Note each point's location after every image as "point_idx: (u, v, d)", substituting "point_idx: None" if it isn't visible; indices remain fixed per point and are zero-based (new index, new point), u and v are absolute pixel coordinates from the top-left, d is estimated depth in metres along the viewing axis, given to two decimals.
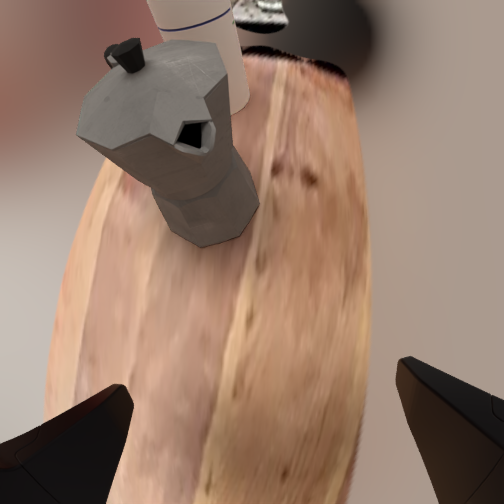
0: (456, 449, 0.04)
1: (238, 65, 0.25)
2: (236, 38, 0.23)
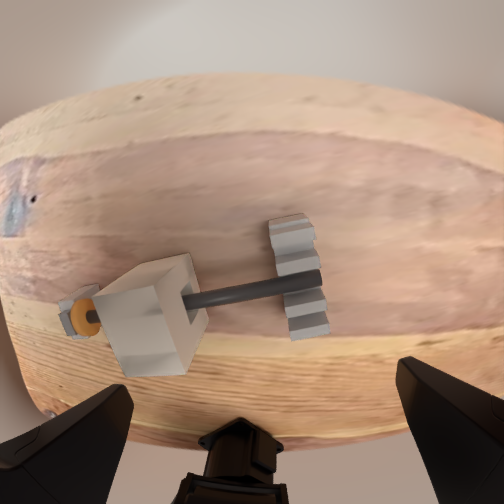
0: (456, 449, 0.04)
1: None
2: None
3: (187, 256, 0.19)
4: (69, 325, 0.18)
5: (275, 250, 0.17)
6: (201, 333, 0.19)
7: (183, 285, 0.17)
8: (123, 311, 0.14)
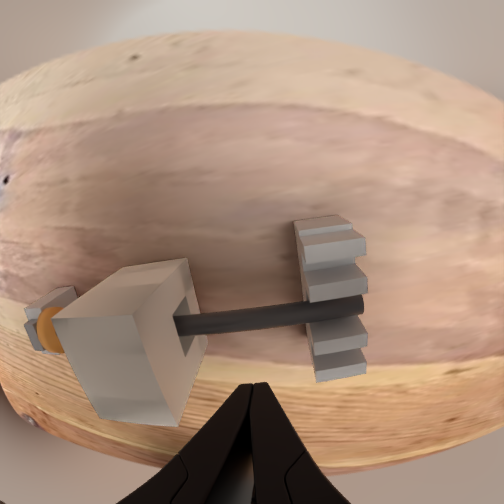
0: None
1: None
2: None
3: (184, 262, 0.14)
4: (36, 339, 0.13)
5: (304, 264, 0.13)
6: (199, 362, 0.14)
7: (177, 304, 0.13)
8: (91, 343, 0.09)
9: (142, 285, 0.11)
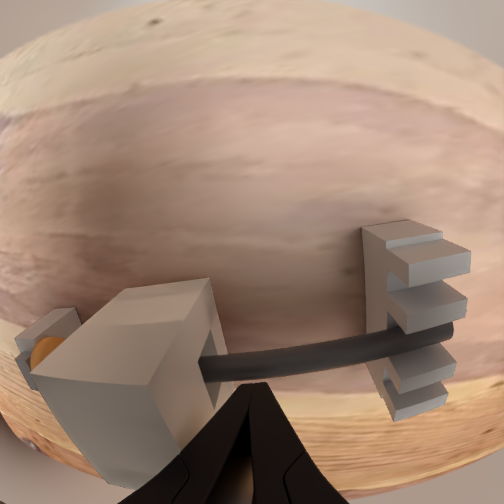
0: None
1: None
2: None
3: (206, 285, 0.11)
4: None
5: (389, 283, 0.09)
6: None
7: (202, 344, 0.09)
8: (89, 411, 0.06)
9: (154, 324, 0.08)
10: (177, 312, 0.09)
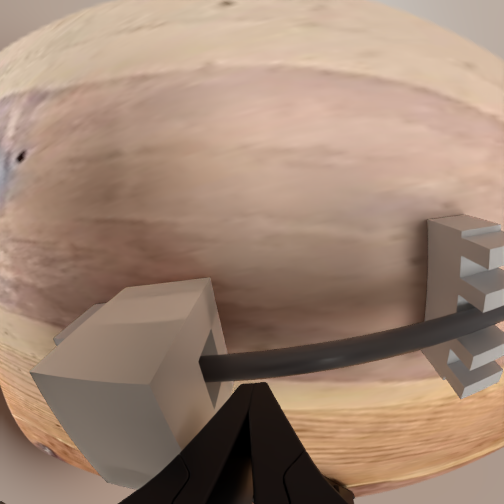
0: None
1: None
2: None
3: (207, 285, 0.11)
4: None
5: (461, 269, 0.09)
6: None
7: (202, 344, 0.09)
8: (89, 411, 0.06)
9: (156, 323, 0.08)
10: (178, 311, 0.09)
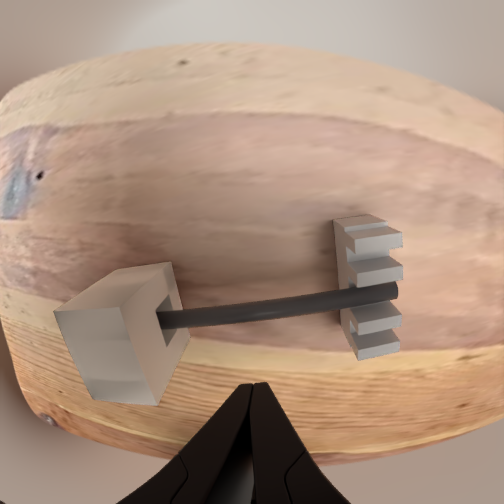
0: None
1: None
2: None
3: (167, 266, 0.16)
4: None
5: (348, 256, 0.14)
6: (180, 353, 0.16)
7: (160, 301, 0.15)
8: (87, 331, 0.11)
9: (130, 284, 0.13)
10: (144, 279, 0.14)
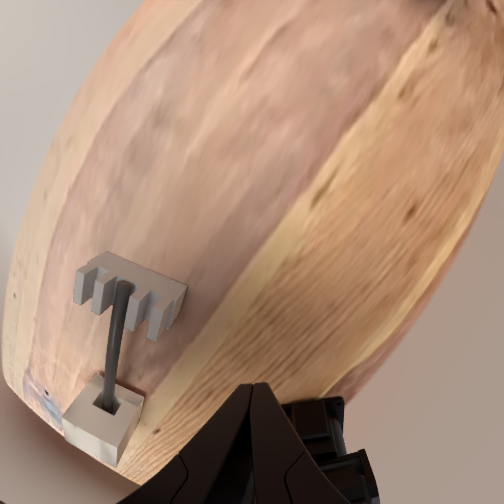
0: None
1: None
2: None
3: (93, 377, 0.22)
4: None
5: None
6: (133, 411, 0.21)
7: (95, 397, 0.20)
8: (73, 436, 0.17)
9: None
10: None
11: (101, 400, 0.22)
